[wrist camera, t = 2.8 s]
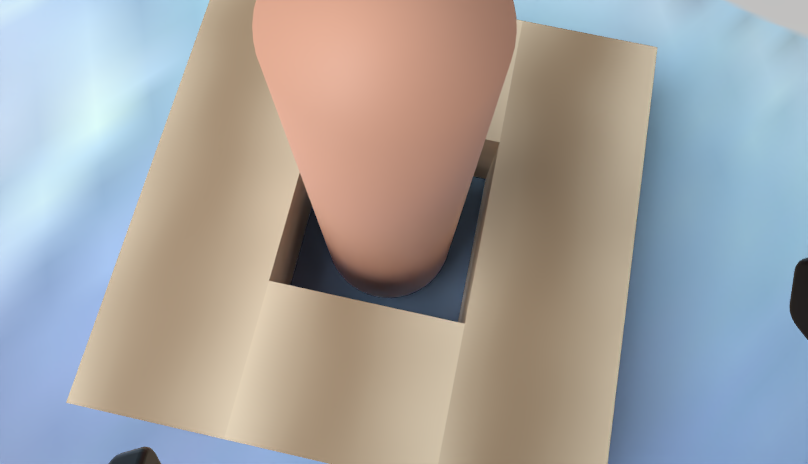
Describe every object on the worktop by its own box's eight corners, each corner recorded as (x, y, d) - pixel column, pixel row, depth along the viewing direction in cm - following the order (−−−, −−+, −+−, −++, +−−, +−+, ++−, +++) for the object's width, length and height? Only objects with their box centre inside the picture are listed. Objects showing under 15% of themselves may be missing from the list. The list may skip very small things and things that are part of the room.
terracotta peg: (459, 195, 22) (535, -62, 10) (436, 309, 21) (491, 167, 9) (344, 170, 22) (291, -108, 10) (315, 283, 21) (219, 110, 9)
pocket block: (623, 94, 23) (657, 47, 20) (568, 510, 19) (599, 525, 16) (244, 18, 23) (223, -39, 21) (114, 405, 20) (66, 402, 17)
